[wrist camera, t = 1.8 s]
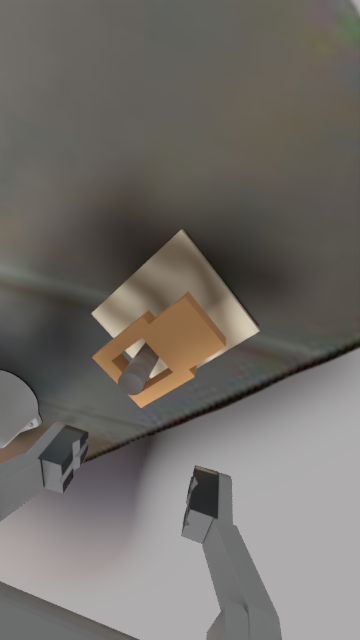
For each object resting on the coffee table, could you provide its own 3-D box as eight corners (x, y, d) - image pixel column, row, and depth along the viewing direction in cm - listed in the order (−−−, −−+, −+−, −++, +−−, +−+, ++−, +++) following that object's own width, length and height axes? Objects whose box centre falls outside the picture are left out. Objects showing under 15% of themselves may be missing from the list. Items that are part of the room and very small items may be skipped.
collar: (146, 396, 27) (140, 407, 25) (101, 348, 26) (91, 357, 24) (231, 345, 22) (232, 355, 21) (181, 283, 21) (177, 288, 19)
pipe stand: (163, 384, 41) (125, 476, 26) (96, 310, 38) (6, 365, 23) (258, 327, 34) (284, 409, 18) (183, 229, 30) (138, 228, 15)
